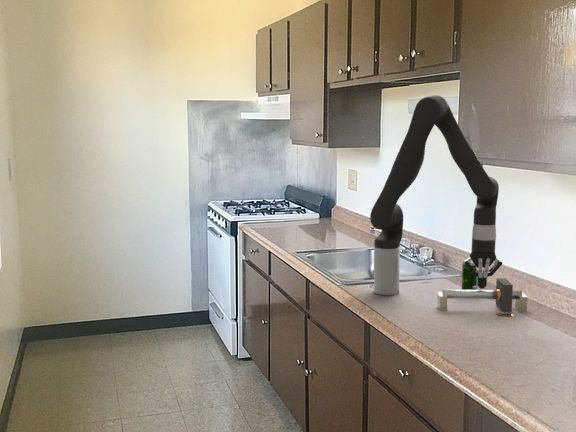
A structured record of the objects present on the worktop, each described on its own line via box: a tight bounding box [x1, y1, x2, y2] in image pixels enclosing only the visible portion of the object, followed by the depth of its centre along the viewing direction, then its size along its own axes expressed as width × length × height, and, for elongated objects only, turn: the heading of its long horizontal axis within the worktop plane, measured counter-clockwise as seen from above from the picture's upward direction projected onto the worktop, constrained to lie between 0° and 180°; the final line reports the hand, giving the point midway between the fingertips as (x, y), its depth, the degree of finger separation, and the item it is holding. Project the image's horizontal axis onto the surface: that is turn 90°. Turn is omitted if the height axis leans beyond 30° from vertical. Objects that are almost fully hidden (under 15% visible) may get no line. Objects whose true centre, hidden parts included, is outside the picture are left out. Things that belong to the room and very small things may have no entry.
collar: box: [495, 277, 514, 313], centre depth 216 cm, size 3×9×9 cm, turn 176°
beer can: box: [461, 259, 478, 290], centre depth 236 cm, size 5×5×12 cm
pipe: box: [436, 289, 528, 318], centre depth 214 cm, size 28×11×7 cm, turn 86°
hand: (481, 287), depth 217 cm, fingers closed
